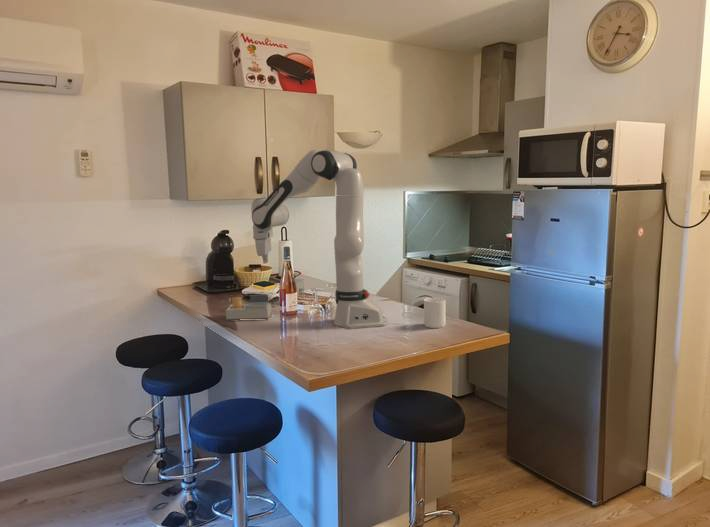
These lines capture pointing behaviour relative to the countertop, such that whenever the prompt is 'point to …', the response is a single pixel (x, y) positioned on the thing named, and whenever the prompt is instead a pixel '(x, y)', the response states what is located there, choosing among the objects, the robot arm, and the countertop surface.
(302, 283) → the ink box
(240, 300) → the tan upright cylinder
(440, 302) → the mug
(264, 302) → the cover
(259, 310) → the housing
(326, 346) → the countertop surface
